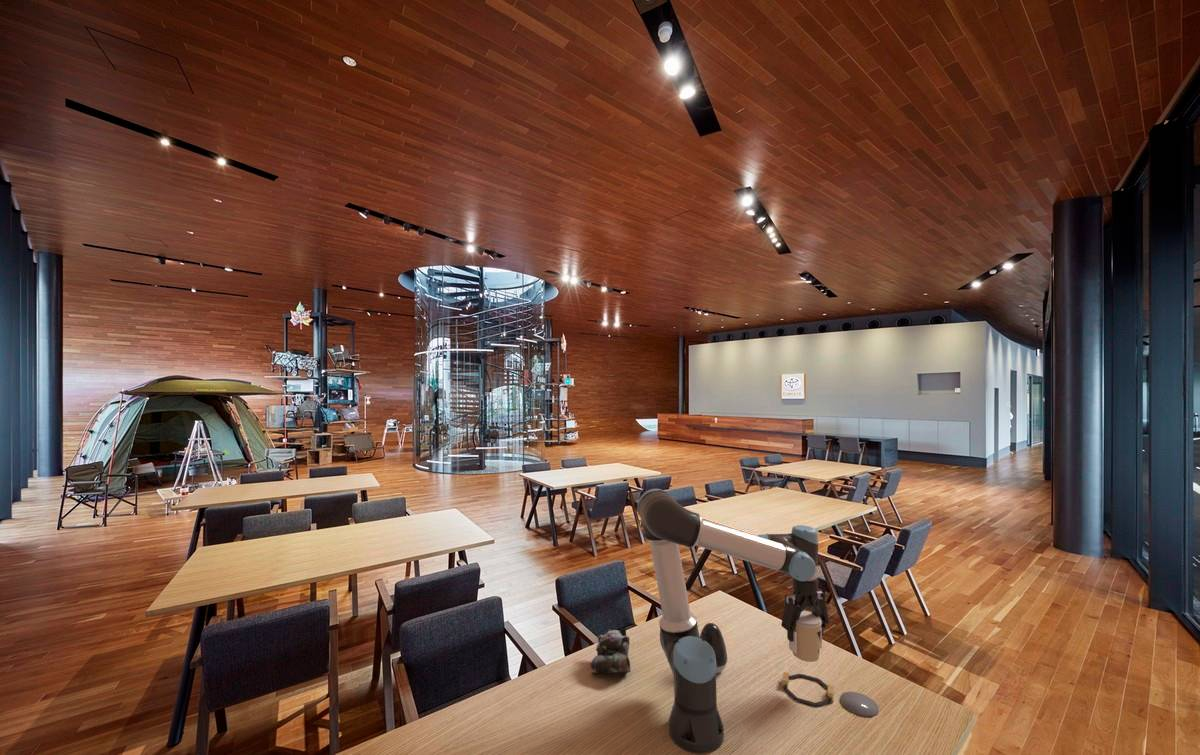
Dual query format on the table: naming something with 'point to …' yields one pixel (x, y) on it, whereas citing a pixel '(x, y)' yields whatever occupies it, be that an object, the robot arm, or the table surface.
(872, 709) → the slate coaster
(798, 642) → the coffee cup
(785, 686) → the socket ring
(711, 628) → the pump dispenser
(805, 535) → the robot arm
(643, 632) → the table surface
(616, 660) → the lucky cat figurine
